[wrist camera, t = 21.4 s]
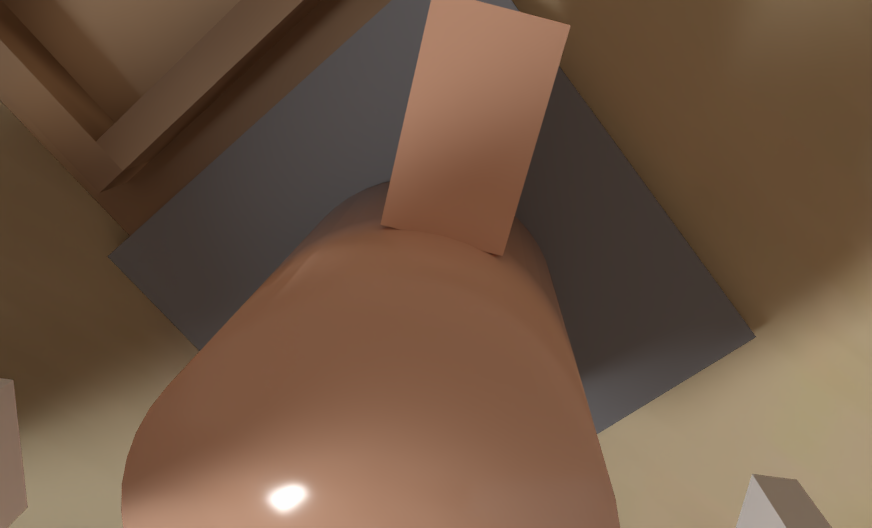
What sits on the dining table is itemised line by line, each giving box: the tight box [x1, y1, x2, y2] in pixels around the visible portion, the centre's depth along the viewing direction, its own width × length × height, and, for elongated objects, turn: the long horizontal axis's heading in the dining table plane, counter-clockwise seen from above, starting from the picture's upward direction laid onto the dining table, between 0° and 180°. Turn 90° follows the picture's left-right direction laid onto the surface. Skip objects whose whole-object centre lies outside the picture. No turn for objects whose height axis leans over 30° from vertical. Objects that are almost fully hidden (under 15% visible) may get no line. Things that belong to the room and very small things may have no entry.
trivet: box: [108, 0, 756, 434], centre depth 20 cm, size 14×14×1 cm
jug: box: [121, 0, 620, 528], centre depth 15 cm, size 14×8×10 cm, turn 166°
